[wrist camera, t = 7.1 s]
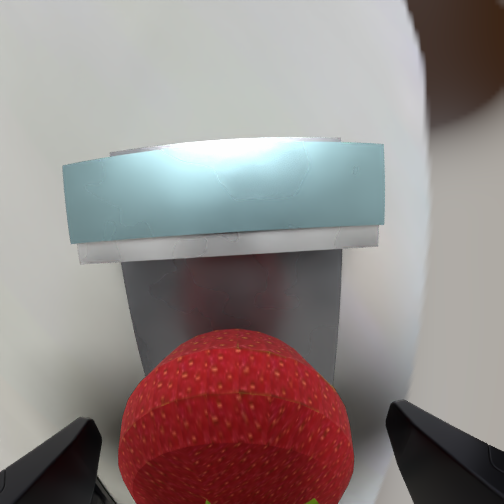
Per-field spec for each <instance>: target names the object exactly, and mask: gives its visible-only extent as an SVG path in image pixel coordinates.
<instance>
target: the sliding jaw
mask: <svg viewBox="0 0 504 504" xmlns="http://www.w3.org/2000/svg"><path fill="white" fill-rule="evenodd" d="M63 181H64V193H65V203H66V212H67V220H68V228H69V235H70V242H71V244H76V243H77V249H78V255H79V260H80V264H94V263H111V262H129V261H146V260H163V259H179V258H196V257H213V256H230V255H246V254H263V253H279V252H296V251H312V250H328V249H344V248H360V247H376V246H378V235H379V225H384V212H385V172H384V144H373V143H352V142H255V143H234V144H218V145H205V146H193V147H182V148H173V149H164V150H155V151H147V152H140V153H132V154H125V155H119V156H112V157H106V158H100V159H95V160H89V161H83V162H78V163H73V164H68V165H63Z"/></svg>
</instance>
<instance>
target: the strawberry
mask: <svg viewBox="0 0 504 504" xmlns="http://www.w3.org/2000/svg"><path fill="white" fill-rule="evenodd" d="M118 465H119V469H120V472H121V475H122V478H123V481H124V483H125V485H126V486H127V488H128V490H129V492H130V494H131V495H132V497H133V499H134V500H135V502H136V504H338V502H339V500H340V499H341V497H342V495H343V493H344V492H345V490H346V488H347V486H348V484H349V482H350V479H351V476H352V474H353V467H354V452H353V444H352V437H351V430H350V423H349V419H348V415H347V411H346V408H345V405H344V403H343V402H342V400H341V398H340V397H339V395H338V393H337V392H336V390H335V388H333V387H332V386H331V385H330V384H329V383H328V382H327V381H326V380H325V379H324V378H323V377H322V376H321V375H320V374H319V373H318V372H317V371H316V370H315V369H314V368H313V367H312V366H311V365H310V364H309V363H308V362H307V361H306V360H305V359H304V358H303V357H302V356H301V355H300V354H299V353H298V352H297V351H296V350H295V349H294V348H292V347H291V346H289V345H287V344H286V343H284V342H283V341H281V340H279V339H278V338H275V337H272V336H270V335H267V334H264V333H261V332H258V331H251V330H244V329H225V330H215V331H212V332H208V333H205V334H201V335H197V336H195V337H194V338H192V339H190V340H188V341H186V342H184V343H182V344H180V345H179V346H178V347H177V348H176V349H175V350H174V351H172V352H171V353H170V354H169V355H168V356H167V357H166V358H165V359H164V360H163V361H162V362H160V363H159V364H158V365H157V366H156V367H155V368H154V369H153V370H152V371H151V372H150V373H149V374H148V375H147V376H146V377H145V378H144V379H143V380H142V381H141V382H140V383H139V384H138V386H137V387H136V389H135V390H134V392H133V393H132V394H131V396H130V397H129V399H128V401H127V404H126V408H125V411H124V414H123V418H122V425H121V433H120V441H119V449H118Z"/></svg>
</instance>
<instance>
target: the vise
mask: <svg viewBox="0 0 504 504" xmlns="http://www.w3.org/2000/svg"><path fill="white" fill-rule="evenodd" d="M255 142H341V138H328V137H274V138H245V139H227V140H212V141H200V142H188V143H178V144H169V145H160V146H152V147H145V148H137V149H130V150H124V151H117V152H111V153H110V157H112V156H119V155H125V154H132V153H140V152H147V151H155V150H164V149H173V148H182V147H193V146H205V145H218V144H234V143H255ZM121 265H122V271H123V277H124V283H125V288H126V294H127V299H128V304H129V309H130V314H131V319H132V323H133V328H134V332H135V337H136V341H137V345H138V349H139V353H140V357H141V361H142V365H143V369H144V372H145V376H147V375H148V374H149V373H150V372H151V371H152V370H153V369H154V368H155V367H156V366H157V365H158V364H159V363H160V362H162V361H163V360H164V359H165V358H166V357H167V356H168V355H169V354H170V353H171V352H172V351H174V350H175V349H176V348H177V347H178V346H179V345H180V344H182V343H184V342H186V341H188V340H190V339H192V338H194V337H195V336H197V335H201V334H205V333H208V332H212V331H215V330H225V329H244V330H251V331H258V332H261V333H264V334H267V335H270V336H272V337H275V338H278V339H279V340H281V341H283V342H284V343H286V344H287V345H289V346H291V347H292V348H294V349H295V350H296V351H297V352H298V353H299V354H300V355H301V356H302V357H303V358H304V359H305V360H306V361H307V362H308V363H309V364H310V365H311V366H312V367H313V368H314V369H315V370H316V371H317V372H318V373H319V374H320V375H321V376H322V377H323V378H324V379H325V380H326V381H327V382H328V383H329V384H330V385H331V386H332V387H333V378H334V369H335V359H336V348H337V337H338V324H339V310H340V292H341V270H342V249H328V250H312V251H296V252H279V253H263V254H246V255H230V256H213V257H196V258H179V259H163V260H146V261H129V262H121Z"/></svg>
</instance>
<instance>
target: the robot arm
mask: <svg viewBox="0 0 504 504" xmlns="http://www.w3.org/2000/svg"><path fill="white" fill-rule="evenodd" d="M386 429H387V432H388V435H389V438H390V442H391V445H392V448H393V452H394V455H395V458H396V461H397V465H398V467H399V470H400V472H401V474H402V477H403V479H404V481H405V483H406V486H407V488H408V491H409V493H410V495H411V498H412V500H413V502H414V504H504V451H501V450H499V449H497V448H495V447H493V446H491V445H488V444H487V443H485V442H483V441H481V440H479V439H477V438H475V437H473V436H471V435H469V434H467V433H465V432H463V431H461V430H460V429H458V428H455V427H454V426H452V425H450V424H448V423H446V422H444V421H442V420H441V419H439V418H437V417H435V416H433V415H431V414H429V413H428V412H426V411H424V410H422V409H420V408H419V407H417V406H415V405H413V404H411V403H410V402H408V401H406V400H398V401H395V402H392V403H391V405H390V408H389V411H388V414H387V418H386ZM101 445H102V437H101V434H100V432H99V430H98V428H97V426H96V424H95V422H94V420H93V419H92V418H87V417H79V418H78V419H76V420H75V421H73V422H72V423H71V424H69V425H68V426H66V427H65V428H64V429H62V430H61V431H59V432H58V433H56V434H55V435H54V436H52V437H51V438H49V439H48V440H46V441H45V442H44V443H42V444H41V445H39V446H38V447H36V448H35V449H33V450H32V451H31V452H29V453H28V454H26V455H25V456H23V457H22V458H20V459H19V460H17V461H16V462H14V463H13V464H11V465H10V466H8V467H7V468H6V470H5V469H4V470H2V471H1V472H0V504H115V503H114V502H113V501H112V499H111V498H110V496H109V495H108V494H107V492H106V491H105V490H104V488H103V487H102V485H101V484H100V483H99V481H98V480H97V478H96V477H97V470H98V463H99V457H100V451H101Z"/></svg>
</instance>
